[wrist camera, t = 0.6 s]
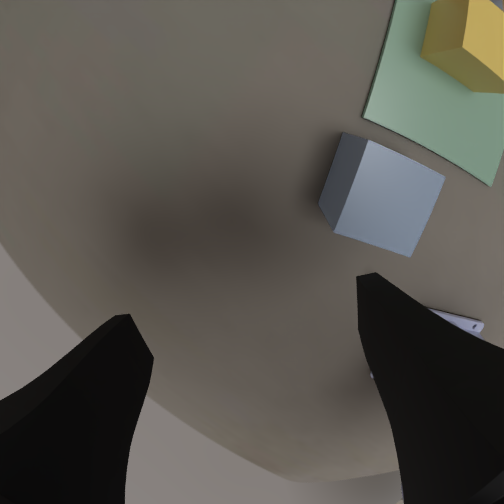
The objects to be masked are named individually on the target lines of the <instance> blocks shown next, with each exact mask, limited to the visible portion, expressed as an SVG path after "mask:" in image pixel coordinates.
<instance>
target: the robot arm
mask: <svg viewBox="0 0 504 504" xmlns="http://www.w3.org/2000/svg"><path fill="white" fill-rule="evenodd" d="M356 282H357V303H358V330H359V334H360V338H361V342H362V346H363V349H364V353H365V357H366V359H367V362H368V365H369V367H370V370H371V373H370V375H371V378H374V380H375V383H376V385H377V388H378V391H379V393H380V396H381V398H382V401H383V404H384V407H385V409H386V412H387V415H388V418H389V421H390V425H391V428H392V433H393V437H394V442H395V447H396V452H397V457H398V463H399V469H400V475H401V482H402V483H401V489H402V496H403V501H404V504H504V349H503V348H500V347H498V346H495V345H493V344H491V343H489V342H486V341H485V340H484V339H483V337H482V336H481V335H480V332H481V330H482V329H483V327H484V323H483V322H482V321H479V320H474V319H470V318H466V317H462V316H458V315H454V314H450V313H446V312H442V311H438V310H434V309H430V308H426V307H425V306H423V305H422V304H420V303H419V302H417V301H416V300H414V299H413V298H411V297H410V296H409V295H407V294H406V293H404V292H403V291H402V290H400V289H399V288H397V287H396V286H395V285H393V284H392V283H390V282H389V281H388V280H386V279H385V278H383V277H382V276H381V275H379V274H378V273H376V272H375V273H370V274H366V275H361V276H356ZM153 361H154V357H153V355H152V353H151V352H150V350H149V348H148V346H147V345H146V343H145V341H144V339H143V338H142V336H141V334H140V332H139V330H138V328H137V327H136V325H135V323H134V321H133V319H132V317H131V315H130V314H123V315H115V316H114V317H112V318H111V319H109V320H108V321H106V322H105V323H104V324H102V325H101V326H100V327H99V328H97V329H96V330H95V331H94V332H92V333H91V334H90V335H89V336H88V337H86V338H85V339H84V340H83V341H82V342H81V343H80V344H78V345H77V346H76V347H75V348H74V349H72V350H71V351H70V352H69V353H68V354H66V355H65V356H64V357H63V358H62V359H60V360H59V361H58V362H57V363H55V364H54V365H53V366H52V367H51V368H49V369H48V370H47V371H45V372H44V373H43V374H41V375H40V376H39V377H37V378H36V379H34V380H33V381H32V382H30V383H29V384H27V385H26V386H24V387H23V388H21V389H20V390H18V391H16V392H14V393H12V394H11V395H9V396H7V397H6V398H4V399H2V400H0V504H125V483H126V472H127V465H128V458H129V452H130V446H131V442H132V438H133V434H134V431H135V427H136V424H137V421H138V418H139V415H140V412H141V409H142V406H143V403H144V399H145V396H146V393H147V390H148V387H149V383H150V378H151V373H152V367H153Z"/></svg>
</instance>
